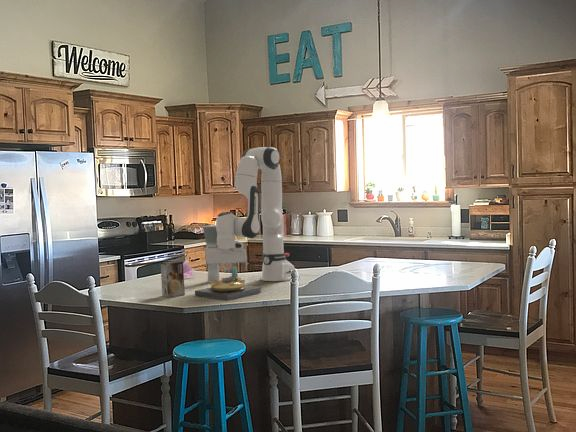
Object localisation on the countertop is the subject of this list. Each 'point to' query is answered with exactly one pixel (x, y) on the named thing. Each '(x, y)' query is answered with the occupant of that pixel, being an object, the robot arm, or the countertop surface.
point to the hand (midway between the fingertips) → (227, 272)
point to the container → (210, 241)
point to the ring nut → (228, 283)
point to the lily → (187, 270)
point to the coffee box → (172, 279)
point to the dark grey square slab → (227, 293)
